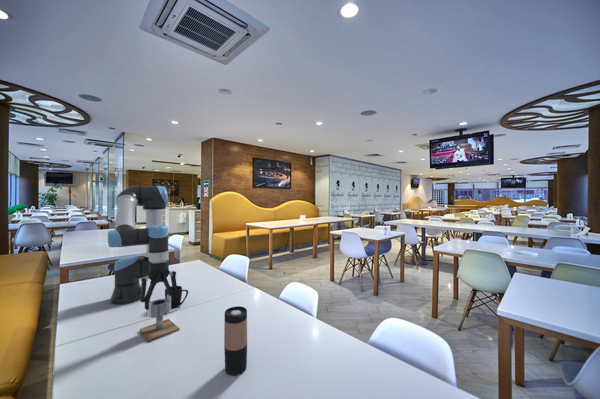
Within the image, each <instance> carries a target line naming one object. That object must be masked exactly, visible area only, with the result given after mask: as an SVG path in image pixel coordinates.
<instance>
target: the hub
mask: <svg viewBox="0 0 600 399" xmlns="http://www.w3.org/2000/svg"><path fill="white" fill-rule="evenodd" d="M169 313H170V311H169V300H168V299H165V298H158V299H154V300H152V301H151V317H150V318H153V319H156V318H159V317H162V316H163V317H164V316H167V315H168V314H169Z"/></svg>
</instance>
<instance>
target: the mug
mask: <svg viewBox="0 0 600 399" xmlns="http://www.w3.org/2000/svg"><path fill="white" fill-rule="evenodd" d="M170 287H171V289H172V285H171V286H170ZM172 290H173V289H172ZM177 290H178V292H177V293H174V296H173V302H171V309H176V308H178V307H181V306H182V305H183V303H184V302H185V301H186V299H187V298H188V294H189V290H188V289H183V286H181V285H177ZM183 292H185V296H184V297H183V300H182V296H183ZM168 294H169V293H168V291H167V289H166V288H165V289H164V299H167V295H168Z"/></svg>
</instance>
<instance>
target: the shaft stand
mask: <svg viewBox="0 0 600 399" xmlns="http://www.w3.org/2000/svg"><path fill="white" fill-rule="evenodd" d="M155 319H156V320H155V321H156V322H155V323H153V324H150V325H147V326H144V327H142V328H140V329H139V332H140V333H141V335H142V336H143V337H144V338H145V340H146V341H147V342H148V343H151V342H153V341H155V340H159V339H161V338H164V337H167V336H168V335H171V334H174V333H176V332H179V331H180V327H179V326H178V325H177V324H175V323H174V322H173V321H172V320H171V319H169V318H168V319H165V320H163V319H164V316H162V317H159V318H155Z"/></svg>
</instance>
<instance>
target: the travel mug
mask: <svg viewBox="0 0 600 399" xmlns="http://www.w3.org/2000/svg"><path fill="white" fill-rule="evenodd" d="M223 322H224V326H223V327H224V329H223V330H224V332H223V333H224V338H223V340H224V346H223V348H224V369H225V373H226V374H227V375H228V376H232V377H233V376H235V377H236V376H239V375H242V374H244V372H245V371H246V370H247V365H248V364H247V363H248V309H247V308H246V307H245V306H236V305H235V306H232V307H229V308H226V310H225V311H224V320H223Z"/></svg>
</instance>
